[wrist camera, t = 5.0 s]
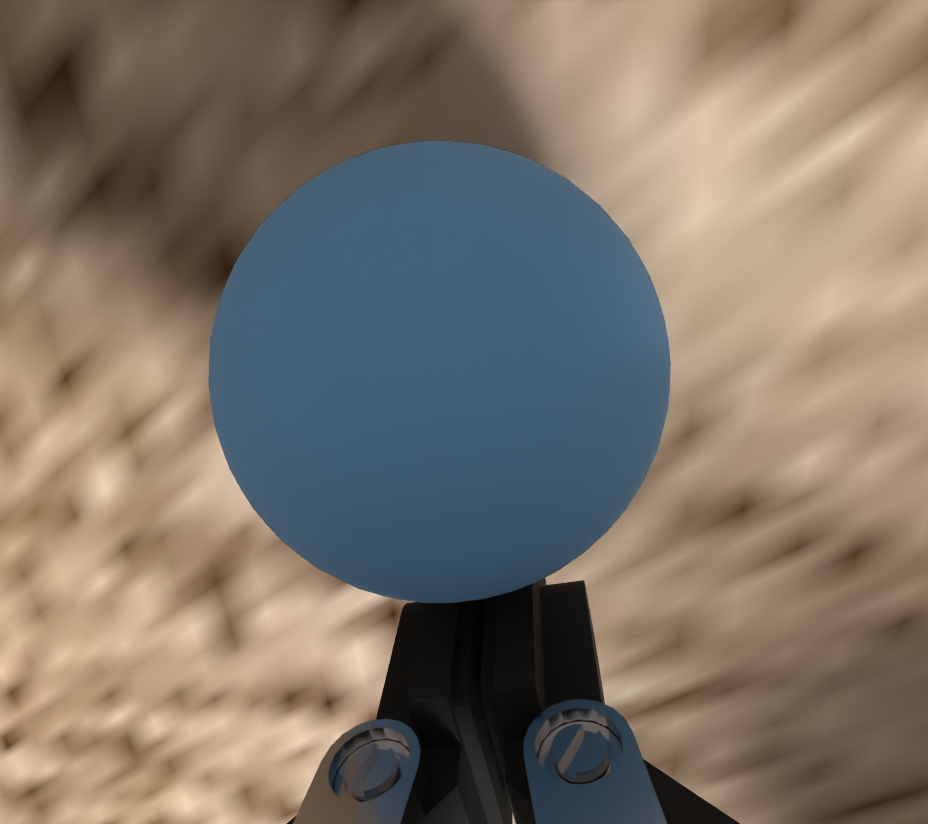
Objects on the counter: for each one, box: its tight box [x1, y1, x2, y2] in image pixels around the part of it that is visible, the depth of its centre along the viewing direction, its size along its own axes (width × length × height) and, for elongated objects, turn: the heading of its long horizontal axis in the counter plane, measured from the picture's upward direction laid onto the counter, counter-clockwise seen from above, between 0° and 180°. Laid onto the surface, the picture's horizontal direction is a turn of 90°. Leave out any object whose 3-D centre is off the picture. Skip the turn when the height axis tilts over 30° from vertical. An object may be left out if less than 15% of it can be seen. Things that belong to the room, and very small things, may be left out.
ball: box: [209, 141, 670, 603], centre depth 9 cm, size 6×6×6 cm
